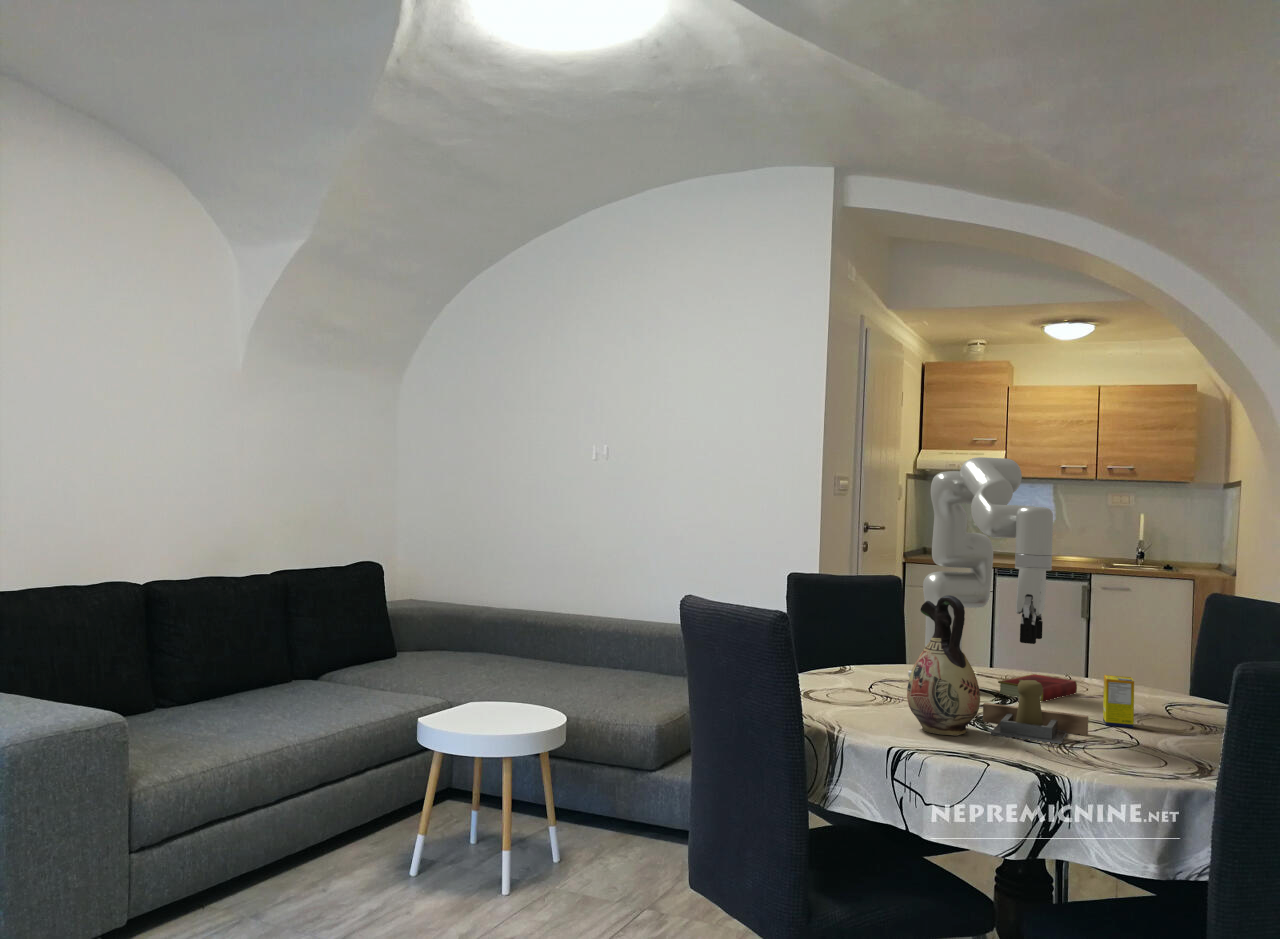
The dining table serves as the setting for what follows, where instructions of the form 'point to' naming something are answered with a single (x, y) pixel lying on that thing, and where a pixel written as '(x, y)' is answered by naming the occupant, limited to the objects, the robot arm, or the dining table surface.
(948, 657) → the ceramic jug
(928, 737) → the dining table surface
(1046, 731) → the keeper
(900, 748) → the dining table surface
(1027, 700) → the cork
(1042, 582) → the robot arm
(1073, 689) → the hardcover book
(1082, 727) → the door edge rail
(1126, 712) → the supplement box
